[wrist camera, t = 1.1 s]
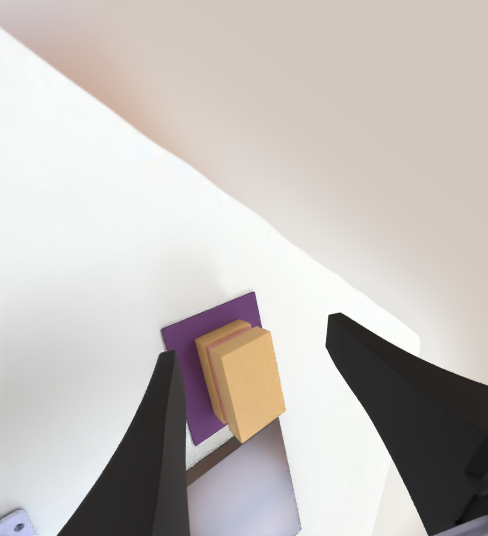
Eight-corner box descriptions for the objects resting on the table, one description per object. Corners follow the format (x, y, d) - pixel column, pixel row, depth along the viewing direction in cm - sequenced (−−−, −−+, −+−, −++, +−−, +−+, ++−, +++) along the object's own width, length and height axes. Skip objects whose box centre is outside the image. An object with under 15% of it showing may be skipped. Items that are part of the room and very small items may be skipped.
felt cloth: (273, 390, 31) (275, 391, 31) (194, 444, 26) (195, 446, 26) (253, 291, 29) (254, 292, 28) (161, 329, 23) (162, 330, 23)
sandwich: (254, 387, 29) (286, 410, 25) (213, 413, 27) (242, 444, 22) (239, 318, 27) (270, 331, 23) (194, 339, 25) (220, 357, 21)
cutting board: (293, 519, 34) (301, 529, 33) (209, 607, 28) (216, 624, 27) (270, 410, 31) (278, 417, 30) (169, 483, 25) (175, 495, 23)
